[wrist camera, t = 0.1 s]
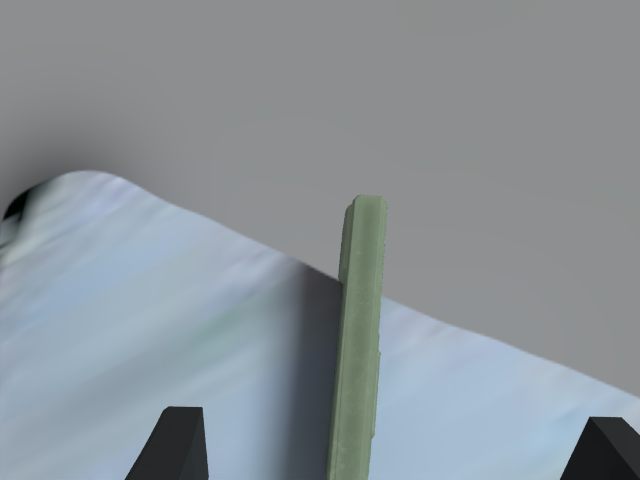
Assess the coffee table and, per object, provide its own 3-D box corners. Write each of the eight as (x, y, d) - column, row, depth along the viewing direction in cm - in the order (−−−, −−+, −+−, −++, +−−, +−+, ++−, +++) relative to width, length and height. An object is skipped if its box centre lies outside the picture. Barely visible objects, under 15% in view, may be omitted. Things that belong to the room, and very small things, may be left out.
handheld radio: (383, 225, 46) (357, 566, 39) (343, 221, 46) (310, 561, 39) (394, 197, 39) (365, 599, 33) (347, 192, 40) (309, 592, 33)
